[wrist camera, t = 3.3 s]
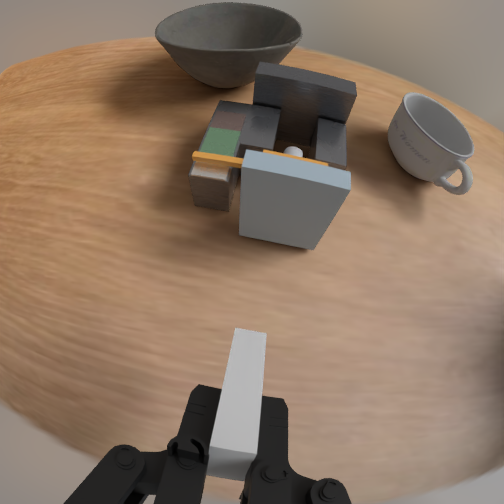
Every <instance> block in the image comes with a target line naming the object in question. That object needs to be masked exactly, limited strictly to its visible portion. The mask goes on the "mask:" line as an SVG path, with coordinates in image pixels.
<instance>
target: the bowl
mask: <svg viewBox="0 0 504 504" xmlns="http://www.w3.org/2000/svg"><path fill="white" fill-rule="evenodd" d="M302 35H303V34H302V28H301V25H300V23H299V22H298V21H297V20H296V19H295V18H293V17H292V16H291V15H289V14H287V13H285V12H283V11H280V10H277V9H274V8H271V7H266V6H262V5H256V4H247V3H233V2H227V3H226V2H224V3H212V4H205V5H199V6H195V7H192V8H189V9H186V10H183V11H180V12H177V13H175V14H173V15H171V16H169V17H167V18H166V19H164V20H163V21H162V22H160V23H159V25H158V26H157V28H156V31H155V36H156V39H157V40H158V41H159V43H160V44H161V45H162V46H163V47H164V48H165V49H166V51H167V52H168V53H169V54H170V56H171V57H172V58H173V59H174V61H175V62H176V63H177V64H178V65H179V66H180V67H181V68H182V69H183V70H184V71H186V72H187V73H188V74H189V75H190V76H192V77H193V78H195V79H197V80H199V81H201V82H203V83H205V84H208V85H211V86H213V87H218V88H234V87H238V86H242V85H245V84H248V83H251V82H253V81H255V73H256V70H257V68H258V65H259V62H266V63H272V64H279V63H280V62H281V61H282V60H283V59H284V58H285V57H286V55H287V54H288V53H289V52H290V51H291V50H292V49H293V48H294V46H295V45H296V44H297V43H298V42H299V40H300V39H301V38H302Z"/></svg>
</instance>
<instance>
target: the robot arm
mask: <svg viewBox="0 0 504 504" xmlns="http://www.w3.org/2000/svg"><path fill="white" fill-rule="evenodd" d="M266 334H267V333H262V332H256V331H251V330H245V329H240V328H235V332H234V337H233V341H232V346H231V351H230V355H229V360H228V364H227V369H226V373H225V378H224V383H223V387H222V389H218V388H213V387H209V386H204V385H200V384H199V385H198V386H197V387H196V388H195V389H194V390H193V391H192V392H191V394H190V397H189V400H188V404H187V406H186V410H185V413H184V416H183V419H182V422H181V425H180V428H179V432H178V435H177V436H176V437H174V438H173V439H171V440H170V442H169V443H168V445H167V450H164V451H161V452H140V451H139V450H138V449H137V448H135V447H133V446H130V445H118V446H115V447H113V448H112V449H111V450H110V451H109V452H108V453H107V454H106V455H105V456H104V458H103V459H102V460H101V461H100V462H99V463H98V465H97V466H96V467H95V468H94V469H93V471H92V472H91V473H90V474H89V475H88V476H87V477H86V479H85V480H84V481H83V482H82V483H81V484H80V485H79V487H78V488H77V489H76V490H75V491H74V492H73V494H72V495H71V496H70V497H69V498H68V499H67V500H66V501H65V503H64V504H143V502H144V501H145V499H146V498H147V496H148V495H156V497H155V501H154V504H200V503H201V498H202V493H203V489H204V483H205V478H206V475H209V476H215V477H220V478H226V479H232V480H239V481H244V480H245V484H244V489H243V491H242V493H241V495H240V497H239V499H241V502H240V504H351V501H350V499H349V496H348V493H347V491H346V489H345V487H344V485H343V484H342V483H341V482H339V481H338V480H335V479H332V478H324V479H321V480H319V481H316V480H313V479H310V478H307V477H304V476H301V475H299V474H297V473H296V472H295V471H294V470H293V469H292V468H291V467H290V465H289V462H288V407H287V405H286V403H285V401H284V399H282V398H274V397H267V396H262V388H263V375H264V362H265V348H266Z"/></svg>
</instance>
